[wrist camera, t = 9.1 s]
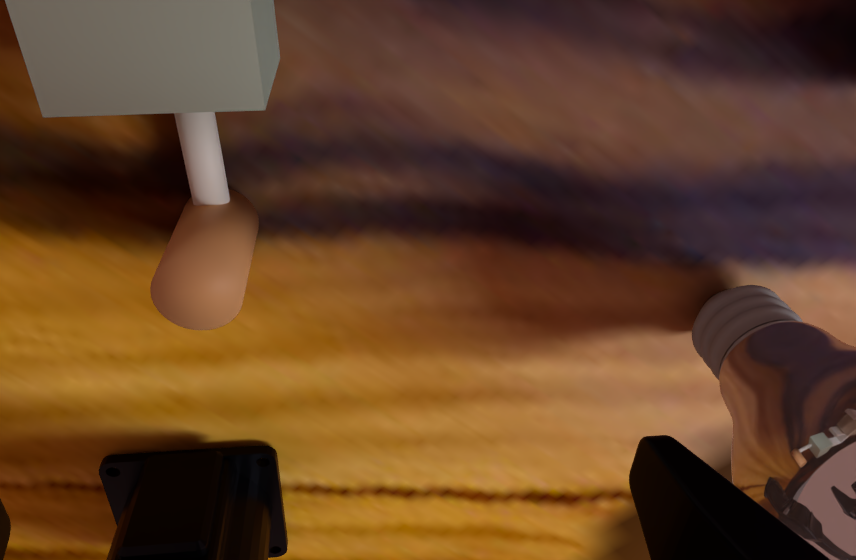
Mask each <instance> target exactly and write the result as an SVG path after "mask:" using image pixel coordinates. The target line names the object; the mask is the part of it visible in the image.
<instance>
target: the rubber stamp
mask: <svg viewBox="0 0 856 560" xmlns="http://www.w3.org/2000/svg"><path fill="white" fill-rule="evenodd" d="M5 3H6V6H7V9H8V12H9V15H10V18H11V21H12V24H13V27H14V30H15V33H16V36H17V39H18V42H19V45H20V48H21V51H22V55H23V58H24V61H25V64H26V67H27V70H28V73H29V76H30V79H31V82H32V85H33V88H34V91H35V94H36V97H37V100H38V103H39V106H40V110H41V113H42V116H43V117H71V116H102V115H133V114H164V113H174V115H175V120H176V125H177V130H178V134H179V139H180V144H181V148H182V153H183V158H184V162H185V167H186V172H187V176H188V181H189V186H190V191H191V195H192V197H191V198H190V199H189V200H188V201H187V203H186V205H185V207H184V209H183V211H182V214H181V216H180V218H179V220H178V223H177V225H176V227H175V229H174V232H173V234H172V236H171V238H170V241H169V243H168V245H167V248H166V250H165V252H164V254H163V257H162V259H161V261H160V263H159V266H158V268H157V270H156V272H155V275H154V277H153V279H152V282H151V297H152V300H153V303H154V305H155V306H156V308H157V309H158V311H159V312H160V313H161V314H162V315H163V316H164V317H165V318H167V319H168V320H169V321H171V322H173V323H175V324H176V325H179V326H181V327H184V328H188V329H193V330H210V329H215V328H218V327H221V326H223V325H225V324H227V323H229V322H230V321H231V320H233V319H234V318H235V317H236V315H237V314H238V313H239V311H240V309H241V307H242V303H243V298H244V293H245V289H246V284H247V279H248V275H249V270H250V265H251V261H252V256H253V251H254V246H255V242H256V237H257V232H258V228H259V219H258V214H257V212H256V210H255V208H254V206H253V205H252V203H251V202H250V201H249V200H248V199H247V198H246V197H245V196H243V195H242V194H240V193H238V192H236V191H234V190H231V189H228V185H227V180H226V174H225V168H224V163H223V157H222V152H221V146H220V140H219V135H218V129H217V124H216V118H215V112H226V111H257V110H265V109H266V105H267V102H268V98H269V95H270V91H271V88H272V84H273V81H274V78H275V74H276V71H277V67H278V64H279V60H280V53H279V44H278V35H277V27H276V18H275V10H274V1H273V0H5Z"/></svg>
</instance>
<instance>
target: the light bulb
mask: <svg viewBox="0 0 856 560" xmlns="http://www.w3.org/2000/svg"><path fill="white" fill-rule="evenodd" d="M692 341H693V345H694V347H695V349H696V351H697V353H698V354H699V355H700V356H701V357H702V358H703V360H704V362H705V363H706V365H707V366H708V367H709V368H710V369H711V370H712V372H713V374H714V375H715V377H716V378H717V379H718V380H719V384H720V392H721V395H722V397H723V400H724V402H725V404H726V407H727V409H728V410H729V412H730V415H731V417H732V422H733V438H732V450H731V465H732V479H733V484H734V485H735V486H736V487H737V488H739V489H740V490H741V491H743V492H744V493H745V494H746V495H748V496H749V497H750V498H752V499H753V500H754V501H756V502H757V503H758V504H759V505H761V506H762V507H763V508H765V509H766V510H767V511H768V512H770V513H771V514H772V515H774V516H775V517H776V518H777V519H779V520H780V521H781V522H783V523H784V524H785V525H787V526H788V527H789V528H790V529H792V530H793V531H794V532H796V533H797V534H798V535H799V536H801V537H802V538H803V539H805V540H806V541H807V542H808V543H810V544H811V545H812V546H814V547H815V548H816V549H818V550H819V551H820V552H821V553H823V554H824V555H825V556H827V557H828V558H829V559H830V560H856V347H854V346H851V345H848V344H846V343H844V342H842V341H840V340H839V339H837V338H836V337H834V336H833V335H831V334H830V333H828V332H827V331H825V330H823V329H821V328H819V327H817V326H814V325H812V324H809V323H805V322H803V321H802V320H801V318H800V317H799V316H798V315H797V314H796V313H795V312H793V311H792V310H791V309H790V308H789V306H788V305H787V304H786V303H785V302H783V301H782V300H781V299H780V298H779V297H778V296H777V295H776V294H775V293H774V292H773V291H771V290H770V289H768V288H765V287H762V286H756V285H746V286H740V287H736V288H732V289H728V290H725V291H722V292H720V293H717V294H715V295H713V296H712V297H711V298H709V299H708V301H707V302H706V303H705V304H704V305H703V307H702V308H701V310H700V312H699V314H698V316H697V318H696V320H695V322H694V325H693V329H692Z"/></svg>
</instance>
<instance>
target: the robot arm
mask: <svg viewBox="0 0 856 560" xmlns="http://www.w3.org/2000/svg"><path fill="white" fill-rule="evenodd" d="M261 458H267V459H261ZM99 475H100V478H101V480H102V483H103V486H104V489H105V492H106V495H107V498H108V501H109V504H110V506H111V509H112V512H113V515H114V518H115V521H116V524H117V529H116V532H115V535H114V538H113V541H112V545H111V548H110V551H109V554H108V557H107V560H268V558H271V557H279V556H282V555H284V554H285V553H286V552H287V544H288V539H287V531H286V523H285V515H284V507H283V499H282V490H281V482H280V474H279V466H278V458H277V453H276V450H275V449H273V448H272V447H270V446H263V445H262V446H246V447H230V448H214V449H198V450H182V451H166V452H150V453H134V454H118V455H110V456H107V457H105V458H104V459H103V461H102V463H101V465H100V468H99ZM629 484H630V490H631V493H632V497H633V500H634V503H635V507H636V510H637V514H638V517H639V520H640V524H641V527H642V531H643V534H644V537H645V541H646V544H647V548H648V551H649V554H650V558H651V560H830V559H829V558H828V557H827V556H825V555H824V554H823V553H821V552H820V551H819V550H818V549H816V548H815V547H814V546H812V545H811V544H810V543H808V542H807V541H806V540H805V539H803V538H802V537H801V536H799V535H798V534H797V533H796V532H794V531H793V530H792V529H790V528H789V527H788V526H787V525H785V524H784V523H783V522H781V521H780V520H779V519H777V518H776V517H775V516H774V515H772V514H771V513H770V512H768V511H767V510H766V509H765V508H763V507H762V506H761V505H759V504H758V503H757V502H756V501H754V500H753V499H752V498H750V497H749V496H748V495H746V494H745V493H744V492H743V491H741V490H740V489H739V488H737V487H736V486H735V485H734V484H732V483H731V482H730V481H728V480H727V479H726V478H724V477H723V476H722V475H721V474H719V473H718V472H717V471H716V470H714V469H713V468H712V467H710V466H709V465H708V464H706V463H705V462H704V461H703V460H701V459H700V458H699V457H697V456H696V455H695V454H694V453H692V452H691V451H690V450H688V449H687V448H686V447H685V446H683V445H682V444H681V443H679V442H678V441H677V440H675V439H674V438H672V437H670V436H667V435H660V436H646V437H643V438H642V439H641V440H640V442H639V444H638V448H637V451H636V454H635V457H634V461H633V464H632V467H631V470H630V474H629ZM10 530H11V524H10V519H9V516H8V514H7V512H6V510H5V508H4V506H3V504H2V502H1V499H0V560H3V558H4V555H5V551H6V548H7V544H8V541H9V537H10Z"/></svg>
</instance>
